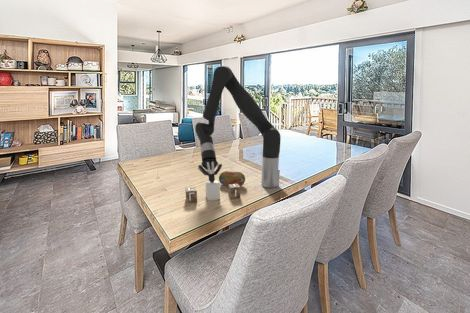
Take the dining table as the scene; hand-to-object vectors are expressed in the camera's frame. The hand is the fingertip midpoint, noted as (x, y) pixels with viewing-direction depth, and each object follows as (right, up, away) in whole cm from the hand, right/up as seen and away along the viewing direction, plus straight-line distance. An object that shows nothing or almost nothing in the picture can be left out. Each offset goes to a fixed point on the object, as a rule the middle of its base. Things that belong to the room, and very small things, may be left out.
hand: (212, 181), depth 135 cm
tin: (+10, -4, +19) cm, 22 cm away
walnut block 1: (+11, -8, +4) cm, 14 cm away
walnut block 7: (-10, -9, -2) cm, 14 cm away
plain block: (0, -8, +2) cm, 9 cm away
